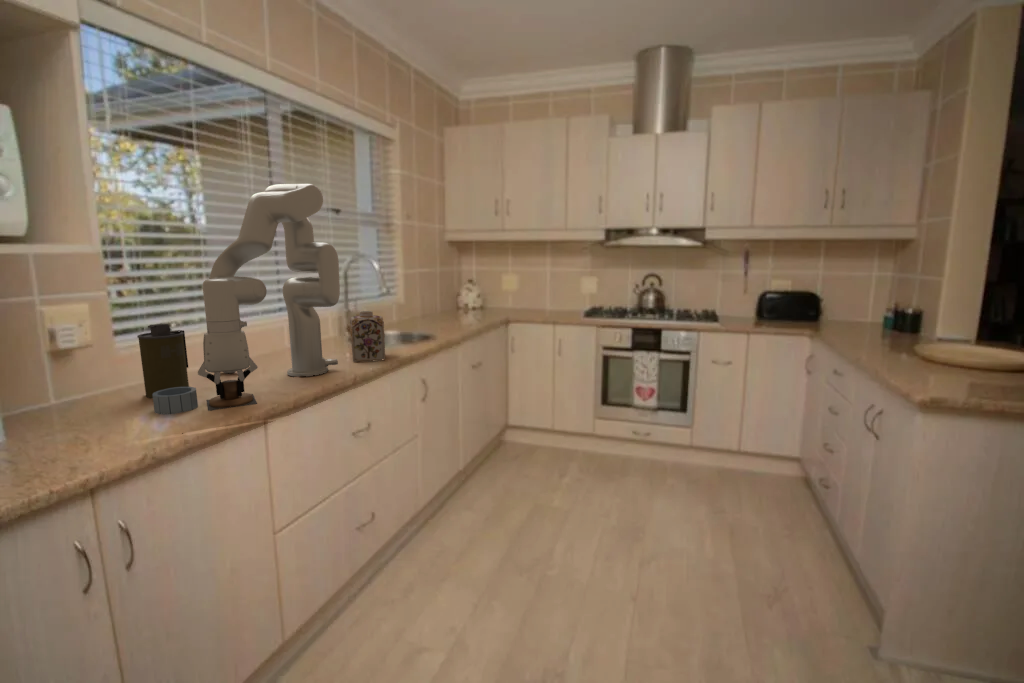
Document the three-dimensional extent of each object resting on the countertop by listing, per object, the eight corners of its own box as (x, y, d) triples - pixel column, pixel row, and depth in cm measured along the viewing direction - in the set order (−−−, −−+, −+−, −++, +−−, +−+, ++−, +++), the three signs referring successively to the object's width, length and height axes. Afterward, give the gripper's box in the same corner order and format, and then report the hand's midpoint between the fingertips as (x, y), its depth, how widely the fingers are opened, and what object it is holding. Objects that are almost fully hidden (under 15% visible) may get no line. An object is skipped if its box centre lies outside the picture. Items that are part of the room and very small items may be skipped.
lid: (250, 394, 137) (249, 375, 136) (255, 403, 128) (253, 383, 128) (208, 400, 131) (206, 380, 130) (210, 409, 123) (207, 388, 122)
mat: (252, 395, 138) (252, 393, 137) (257, 405, 128) (257, 403, 128) (206, 402, 132) (206, 399, 131) (208, 413, 123) (207, 410, 122)
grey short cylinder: (197, 403, 131) (195, 385, 130) (198, 412, 123) (196, 392, 122) (156, 409, 126) (153, 389, 125) (154, 418, 118) (151, 398, 117)
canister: (160, 402, 131) (150, 328, 128) (136, 397, 135) (127, 325, 132) (200, 392, 141) (192, 322, 137) (177, 388, 145) (169, 320, 142)
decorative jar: (352, 362, 180) (349, 313, 177) (351, 356, 191) (349, 310, 188) (386, 360, 184) (384, 312, 181) (383, 354, 195) (381, 309, 191)
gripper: (258, 323, 134) (264, 388, 137) (185, 327, 125) (193, 397, 128) (261, 326, 128) (267, 395, 131) (185, 331, 119) (193, 405, 122)
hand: (230, 395), depth 130 cm, fingers closed on lid, 3 cm apart
